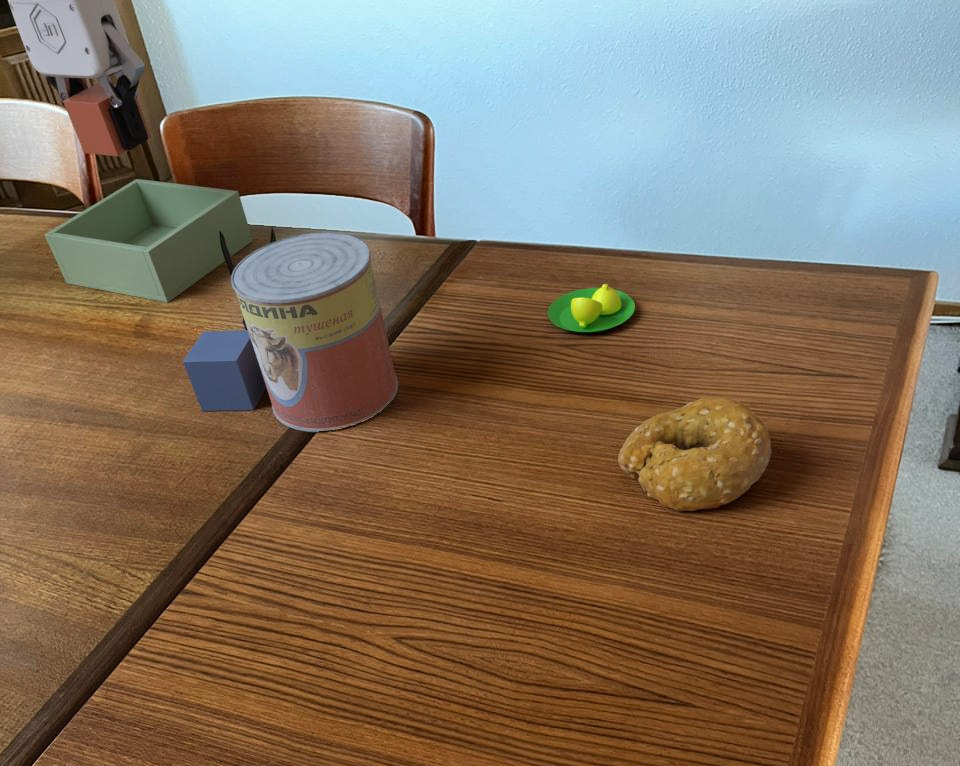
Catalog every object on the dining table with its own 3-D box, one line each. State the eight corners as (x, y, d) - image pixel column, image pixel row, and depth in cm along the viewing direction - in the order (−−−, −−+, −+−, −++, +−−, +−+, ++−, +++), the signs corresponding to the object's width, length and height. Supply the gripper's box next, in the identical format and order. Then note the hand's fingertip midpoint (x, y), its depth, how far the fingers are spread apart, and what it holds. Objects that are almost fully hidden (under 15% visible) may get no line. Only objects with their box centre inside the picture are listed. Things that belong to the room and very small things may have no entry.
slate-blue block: (201, 411, 86) (182, 361, 83) (220, 380, 90) (202, 331, 86) (253, 410, 85) (236, 360, 82) (271, 379, 89) (255, 329, 85)
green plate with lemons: (621, 341, 86) (620, 312, 84) (536, 334, 88) (533, 305, 86) (645, 297, 90) (645, 268, 88) (563, 291, 93) (561, 263, 91)
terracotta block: (83, 153, 100) (62, 100, 96) (117, 134, 103) (97, 82, 99) (118, 156, 98) (97, 103, 94) (151, 137, 101) (132, 84, 97)
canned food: (246, 411, 85) (201, 282, 77) (332, 349, 91) (299, 223, 82) (338, 446, 80) (301, 312, 71) (423, 378, 86) (399, 246, 77)
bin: (66, 283, 108) (43, 234, 104) (153, 226, 116) (136, 178, 112) (167, 302, 102) (148, 251, 98) (253, 240, 110) (238, 190, 106)
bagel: (649, 422, 77) (650, 369, 73) (786, 452, 72) (794, 397, 69) (595, 496, 71) (592, 443, 68) (739, 533, 67) (745, 478, 63)
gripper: (-58, -56, 88) (34, 152, 102) (70, -60, 81) (151, 164, 94) (4, -78, 92) (85, 124, 106) (131, -84, 85) (201, 134, 99)
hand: (115, 141), depth 100 cm, fingers closed on terracotta block, 5 cm apart
